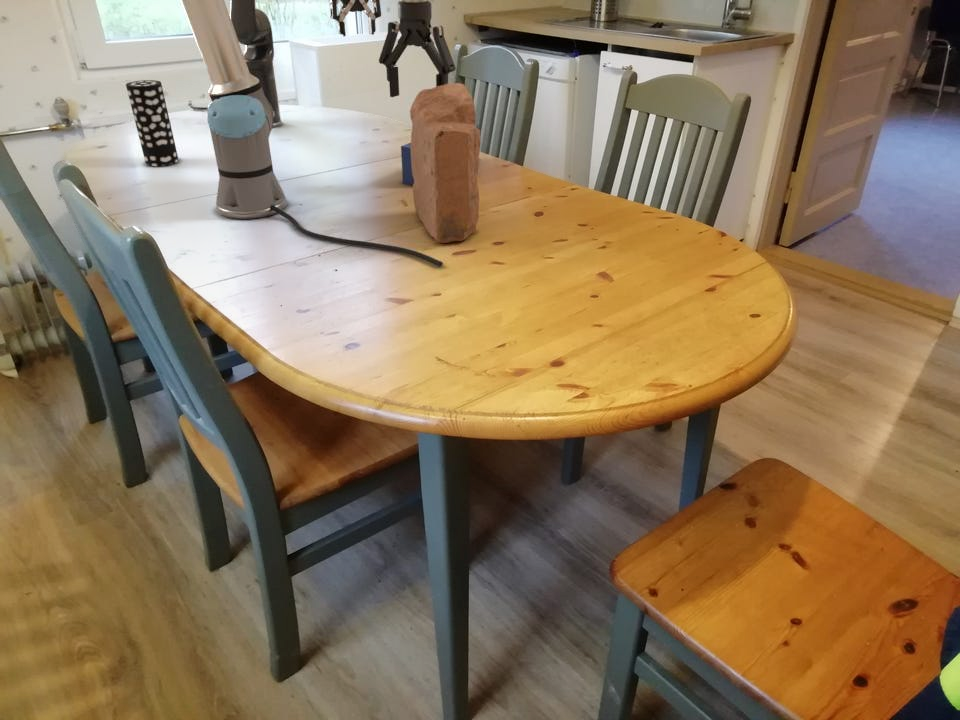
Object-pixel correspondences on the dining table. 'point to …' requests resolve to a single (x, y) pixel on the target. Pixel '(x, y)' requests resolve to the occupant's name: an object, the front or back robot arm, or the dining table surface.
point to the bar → (408, 164)
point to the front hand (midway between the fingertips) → (417, 99)
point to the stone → (445, 161)
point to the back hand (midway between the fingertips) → (357, 35)
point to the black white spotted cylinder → (152, 122)
